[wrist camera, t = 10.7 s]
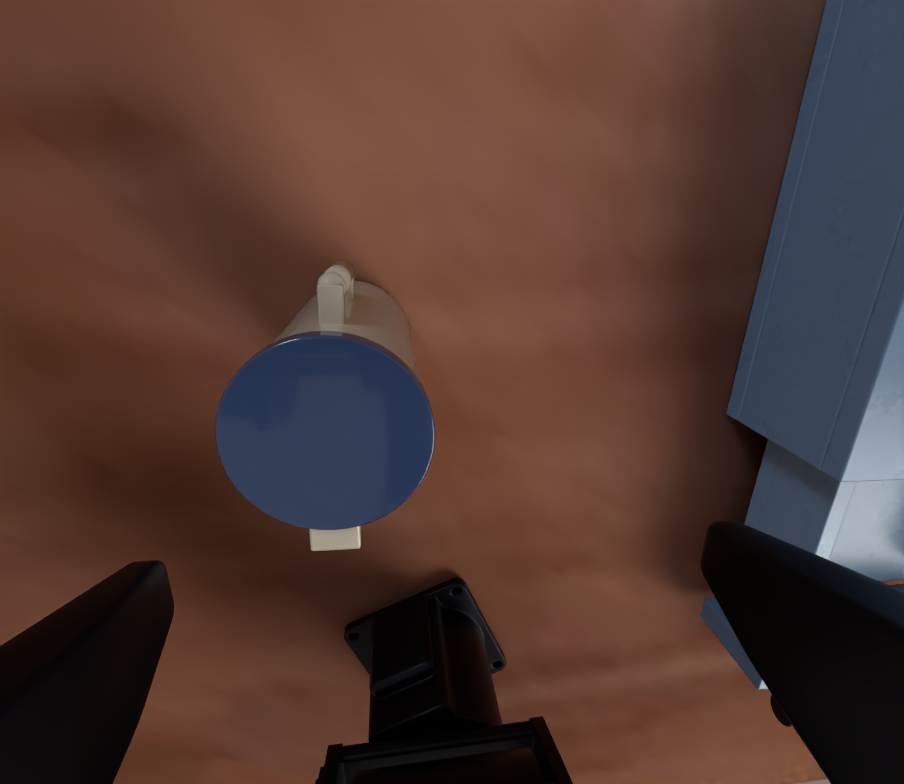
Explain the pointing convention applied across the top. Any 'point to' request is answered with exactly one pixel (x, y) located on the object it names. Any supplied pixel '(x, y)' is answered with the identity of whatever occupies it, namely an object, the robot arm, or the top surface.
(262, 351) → the blue-lidded canister
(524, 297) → the top surface
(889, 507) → the drawer
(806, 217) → the cabinet
